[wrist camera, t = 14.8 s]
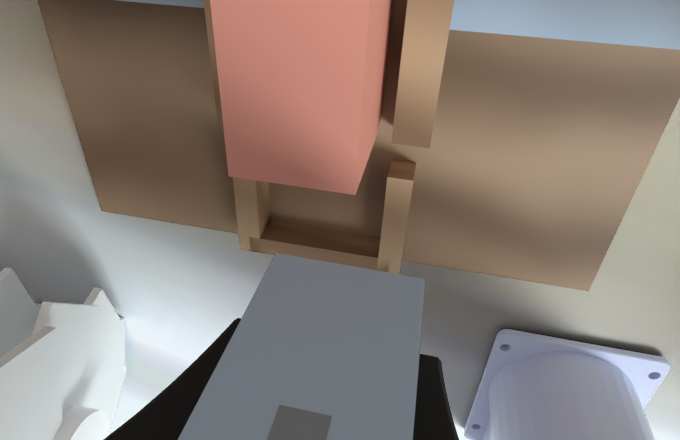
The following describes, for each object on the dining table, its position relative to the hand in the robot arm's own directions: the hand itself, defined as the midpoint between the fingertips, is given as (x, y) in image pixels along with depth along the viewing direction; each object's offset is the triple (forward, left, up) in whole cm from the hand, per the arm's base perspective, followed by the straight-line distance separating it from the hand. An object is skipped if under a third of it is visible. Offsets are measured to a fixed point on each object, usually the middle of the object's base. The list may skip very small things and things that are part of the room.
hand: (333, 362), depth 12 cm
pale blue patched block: (0, 0, -2) cm, 2 cm away
